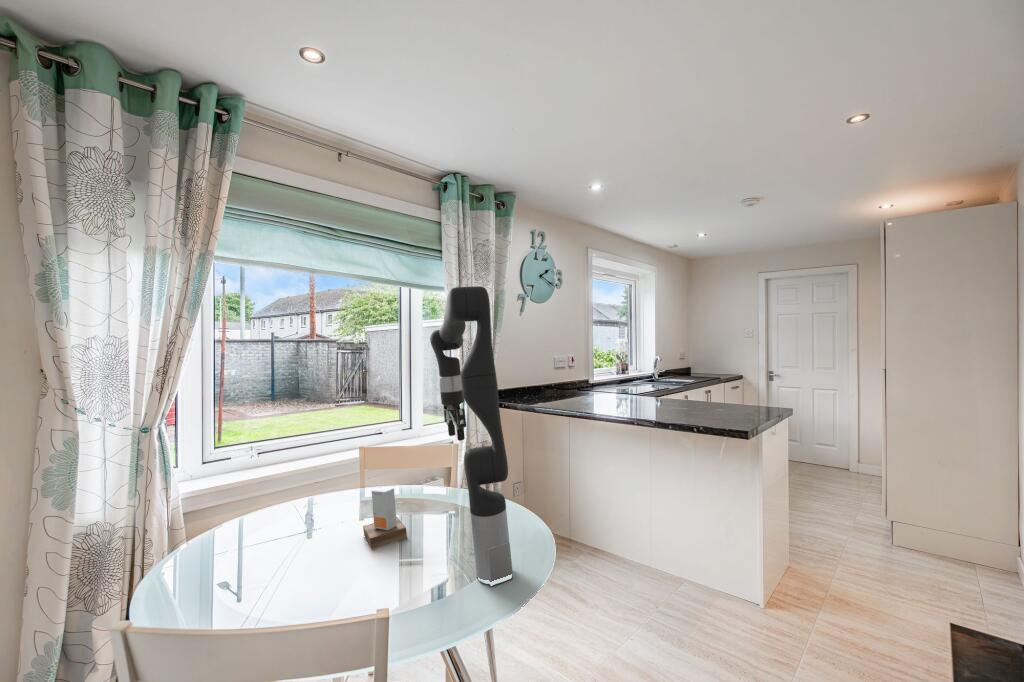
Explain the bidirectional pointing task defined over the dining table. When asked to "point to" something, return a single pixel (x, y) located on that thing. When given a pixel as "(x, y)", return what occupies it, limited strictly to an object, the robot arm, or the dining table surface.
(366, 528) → the walnut block
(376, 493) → the skincare box
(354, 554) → the dining table surface
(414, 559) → the dining table surface
